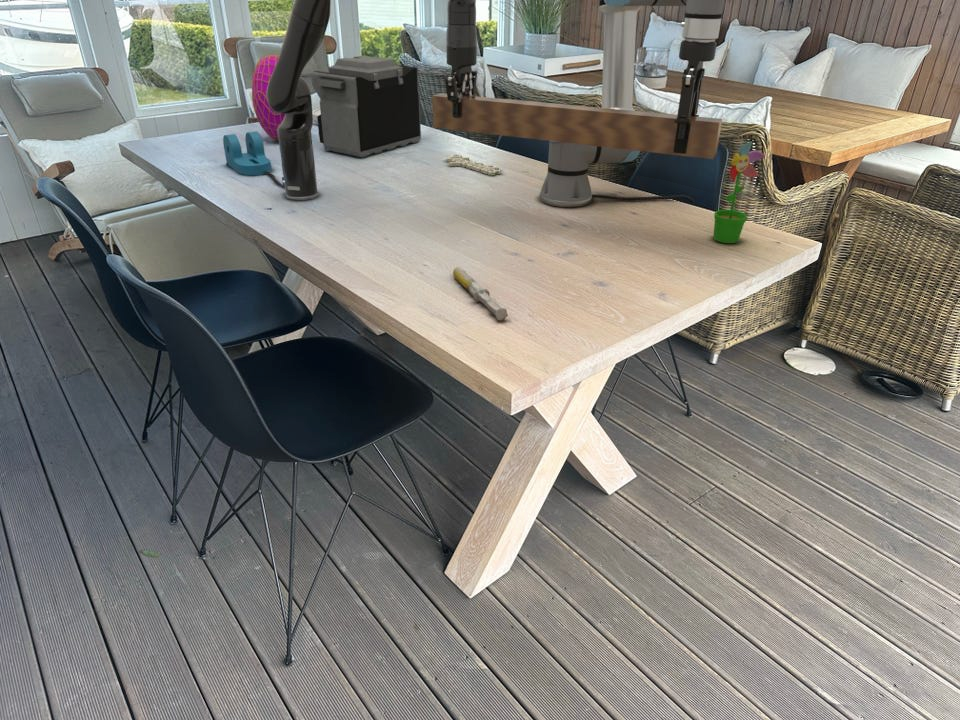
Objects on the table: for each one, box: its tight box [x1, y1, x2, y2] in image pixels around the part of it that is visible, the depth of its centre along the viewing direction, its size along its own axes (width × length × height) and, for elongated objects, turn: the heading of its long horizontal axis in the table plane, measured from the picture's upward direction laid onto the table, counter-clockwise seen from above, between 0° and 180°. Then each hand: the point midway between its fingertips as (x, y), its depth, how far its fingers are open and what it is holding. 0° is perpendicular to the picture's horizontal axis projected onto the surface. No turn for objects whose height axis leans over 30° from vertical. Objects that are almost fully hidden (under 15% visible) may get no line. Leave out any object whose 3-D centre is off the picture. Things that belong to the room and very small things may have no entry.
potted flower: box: [713, 141, 766, 244], centre depth 170 cm, size 9×8×25 cm
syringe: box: [452, 266, 509, 321], centre depth 145 cm, size 25×4×3 cm, turn 21°
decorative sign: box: [445, 154, 501, 176], centre depth 234 cm, size 26×1×10 cm
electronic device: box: [310, 55, 422, 159], centre depth 250 cm, size 37×22×30 cm, turn 144°
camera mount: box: [222, 131, 272, 176], centre depth 226 cm, size 18×10×10 cm, turn 35°
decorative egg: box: [251, 54, 285, 141], centre depth 257 cm, size 19×19×30 cm
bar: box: [431, 92, 724, 160], centre depth 168 cm, size 72×5×8 cm, turn 65°
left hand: (461, 115), depth 179 cm, fingers closed on bar, 4 cm apart
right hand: (681, 150), depth 159 cm, fingers closed on bar, 5 cm apart
